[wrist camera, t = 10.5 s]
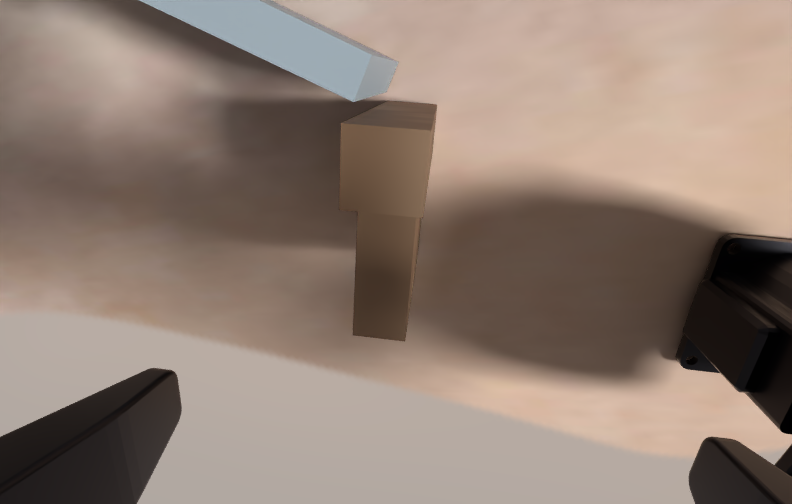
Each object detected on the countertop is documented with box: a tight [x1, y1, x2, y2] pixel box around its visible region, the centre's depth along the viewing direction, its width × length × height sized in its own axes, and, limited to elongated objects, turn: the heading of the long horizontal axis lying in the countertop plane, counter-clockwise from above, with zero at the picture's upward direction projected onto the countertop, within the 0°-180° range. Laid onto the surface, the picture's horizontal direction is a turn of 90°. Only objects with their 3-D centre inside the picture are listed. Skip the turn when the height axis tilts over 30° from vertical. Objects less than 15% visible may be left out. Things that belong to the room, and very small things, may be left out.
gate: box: [139, 0, 399, 102], centre depth 14 cm, size 12×3×7 cm, turn 66°
